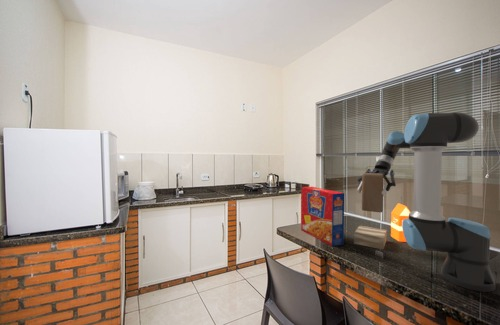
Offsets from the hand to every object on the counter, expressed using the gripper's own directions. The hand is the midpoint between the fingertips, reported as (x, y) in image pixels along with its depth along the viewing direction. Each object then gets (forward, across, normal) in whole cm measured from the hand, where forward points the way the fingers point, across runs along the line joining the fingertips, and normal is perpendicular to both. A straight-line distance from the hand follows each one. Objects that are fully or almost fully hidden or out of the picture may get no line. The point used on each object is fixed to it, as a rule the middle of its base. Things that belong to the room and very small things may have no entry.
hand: (370, 193), depth 123 cm
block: (+5, 0, -9) cm, 10 cm away
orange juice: (+4, -7, -36) cm, 37 cm away
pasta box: (+29, +22, -11) cm, 38 cm away
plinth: (+17, +1, -22) cm, 28 cm away
